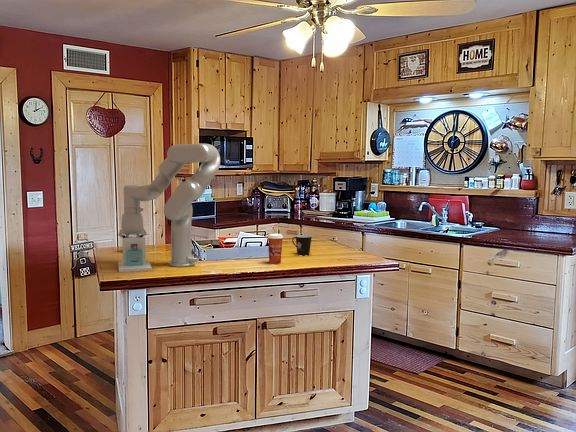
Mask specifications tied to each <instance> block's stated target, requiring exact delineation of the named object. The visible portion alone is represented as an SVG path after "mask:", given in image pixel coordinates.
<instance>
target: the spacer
mask: <svg viewBox="0 0 576 432" xmlns="http://www.w3.org/2000/svg"><path fill="white" fill-rule="evenodd" d="M131 254H138V261H131V258H130V255H131ZM126 260H127V266H139V265H143V258H142V250H136V251H133V250H126Z"/></svg>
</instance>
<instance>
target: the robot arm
mask: <svg viewBox="0 0 576 432" xmlns="http://www.w3.org/2000/svg"><path fill="white" fill-rule="evenodd" d="M166 155H167V157H166V158H165V159H164V160H163V161H162V162H161V163H160V164H159V166H158V174H157V175H156V177H155V178H154V180H152V181H151V182H150V184H145V185H136V184H129V185H124V186H123V213H122V215H121V227H120V228H121V229H120V231H119V232H118V234H117V235H118V236H119V237H120V238H121V239H122V238H129V237H130V236H133V235H137V238H140V237H145V236H147V235H148V234H147V231H146V229H145V228H144V219H143V213H141V212H143V211H144V208H142V207H141V202H149V201H155V200H156V199H158V198H159V197H160V196H161V195H162V194H163V192H165V191H166V190H167V189H168V187H169V186H170V184H171V182H172V181H173V179H174V178H175V176H177V174H179V172H180V171H181V170H182V169H183V168H184V167H185V166H186V164H191V163H194V164H196V163H201V164H200V166H198V167H197V169H196V170H195V172H194V173H193V174H192V176H191V177H190V178H189V180H185V181H182V182H181V183H179V184H178V185H177V187H176V188H175V189H174V191H173V192H172V194H171V196H170V197H169V198H168V199H167V201H166V202H165V204H164V207H163V215H164V216H165V217H166V219H167V220H169V221H171V223H170V224H171V225H170V256H171V257H170V260H169V261H167V265H168V266H170V267H175V268H176V267H177V268H181V267H182V268H183V267H191V266H194V265H195V263H199V260H200V258H199V257H195V256H194V254H192V224H193V223H192V220H193V210H194V209H193V205H192V203H193V202H194V201H196V200H199V199H201V197H202V196H203V194H204V193H205V191H206V189H207V188H208V187H209V186H210V184H211V182H212V180H213V179H214V177H215V176H216V175H217V174H218V171H219V170H220V169H219V168H220V166H221V156H220V155H221V154H220V153H219V151H218V149H217V148H216V147H215V146H214V145H212V144H209V143H201V142H200V143H187V144H186V143H185V144H184V143H183V144H173V145H171V146H170V147H168V149H167V153H166ZM139 235H140V236H139Z"/></svg>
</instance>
